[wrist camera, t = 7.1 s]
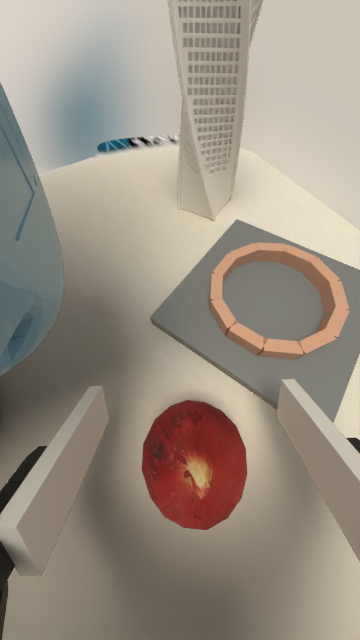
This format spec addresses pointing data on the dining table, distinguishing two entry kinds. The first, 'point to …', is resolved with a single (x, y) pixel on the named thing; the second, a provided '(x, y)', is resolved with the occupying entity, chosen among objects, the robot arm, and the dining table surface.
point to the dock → (270, 315)
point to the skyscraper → (211, 96)
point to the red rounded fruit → (194, 464)
